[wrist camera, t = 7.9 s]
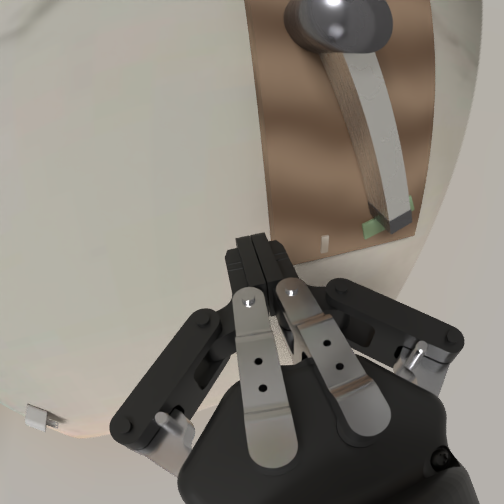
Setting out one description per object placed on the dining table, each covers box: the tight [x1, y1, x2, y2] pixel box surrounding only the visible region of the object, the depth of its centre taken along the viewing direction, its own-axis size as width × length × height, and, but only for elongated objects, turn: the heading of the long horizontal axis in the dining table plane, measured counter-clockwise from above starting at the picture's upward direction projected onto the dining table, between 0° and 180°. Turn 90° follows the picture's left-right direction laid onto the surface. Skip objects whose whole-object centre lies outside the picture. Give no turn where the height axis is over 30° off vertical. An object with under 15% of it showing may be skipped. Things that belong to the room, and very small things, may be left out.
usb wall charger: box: [25, 404, 58, 432], centre depth 35 cm, size 4×7×4 cm, turn 55°
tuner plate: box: [244, 0, 435, 265], centre depth 17 cm, size 22×14×2 cm, turn 6°
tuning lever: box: [284, 0, 412, 234], centre depth 14 cm, size 17×4×4 cm, turn 26°
